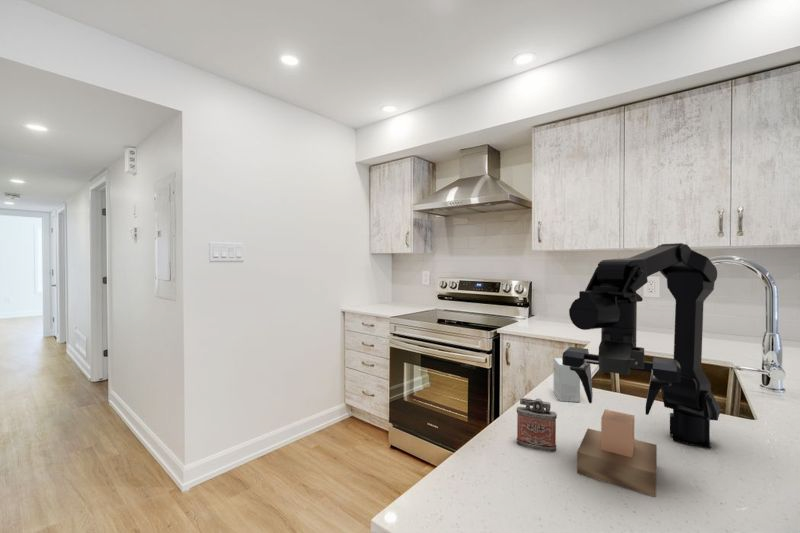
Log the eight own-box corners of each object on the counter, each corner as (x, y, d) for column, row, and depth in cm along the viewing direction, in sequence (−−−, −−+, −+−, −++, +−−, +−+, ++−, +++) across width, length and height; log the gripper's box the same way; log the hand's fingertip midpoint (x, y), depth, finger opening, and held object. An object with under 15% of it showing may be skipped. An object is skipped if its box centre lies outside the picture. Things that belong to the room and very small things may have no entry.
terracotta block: (634, 446, 70) (634, 415, 70) (632, 457, 66) (632, 424, 66) (604, 439, 73) (604, 409, 73) (601, 449, 69) (601, 417, 69)
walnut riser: (656, 465, 71) (656, 444, 71) (655, 497, 61) (655, 473, 61) (587, 447, 78) (587, 428, 78) (577, 473, 68) (577, 451, 68)
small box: (580, 403, 103) (580, 365, 103) (558, 401, 104) (559, 364, 104) (572, 393, 111) (573, 358, 111) (553, 391, 112) (553, 357, 112)
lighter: (556, 446, 78) (557, 399, 78) (556, 453, 75) (556, 405, 75) (517, 438, 82) (517, 393, 82) (515, 445, 79) (515, 399, 79)
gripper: (556, 326, 68) (555, 410, 68) (682, 338, 58) (681, 438, 58) (568, 319, 77) (567, 393, 78) (679, 329, 67) (678, 414, 67)
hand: (617, 408), depth 70 cm, fingers open, 9 cm apart
